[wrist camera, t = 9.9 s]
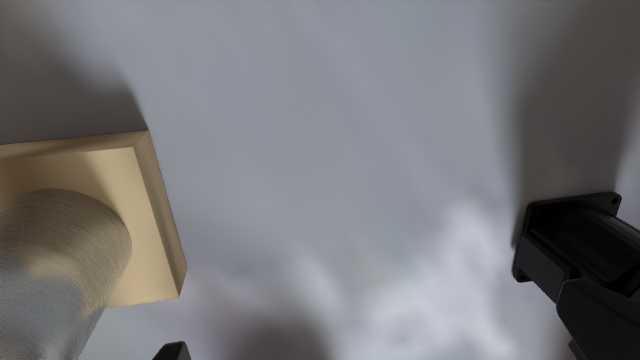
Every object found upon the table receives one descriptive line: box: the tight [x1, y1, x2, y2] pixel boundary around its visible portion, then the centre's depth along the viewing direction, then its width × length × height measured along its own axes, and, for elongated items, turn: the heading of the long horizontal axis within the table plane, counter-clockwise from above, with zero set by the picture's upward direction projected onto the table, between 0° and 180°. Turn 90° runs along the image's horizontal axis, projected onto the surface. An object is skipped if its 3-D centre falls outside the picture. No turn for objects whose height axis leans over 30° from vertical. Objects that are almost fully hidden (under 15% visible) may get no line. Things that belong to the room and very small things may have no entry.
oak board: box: [0, 130, 187, 308], centre depth 19 cm, size 9×9×2 cm
